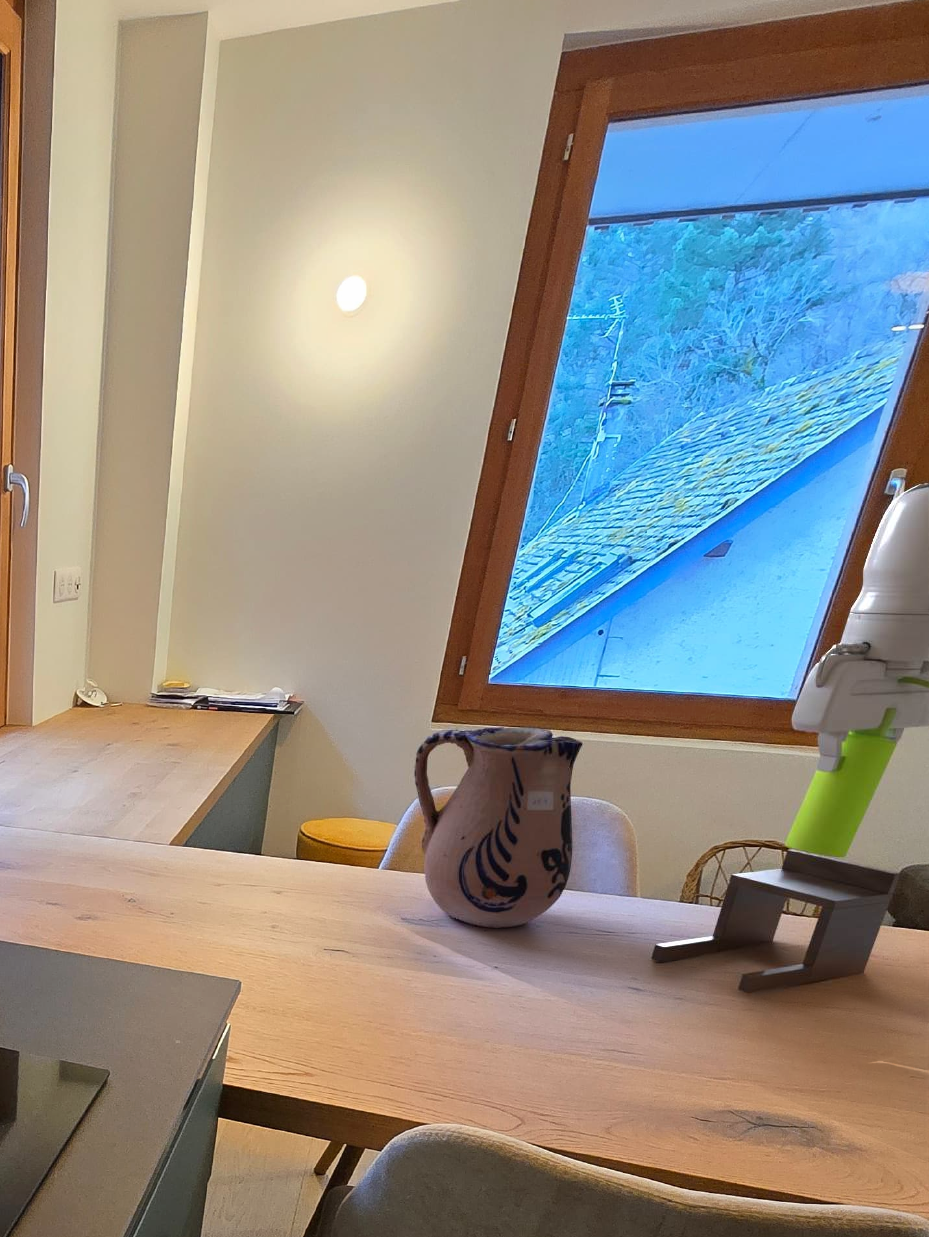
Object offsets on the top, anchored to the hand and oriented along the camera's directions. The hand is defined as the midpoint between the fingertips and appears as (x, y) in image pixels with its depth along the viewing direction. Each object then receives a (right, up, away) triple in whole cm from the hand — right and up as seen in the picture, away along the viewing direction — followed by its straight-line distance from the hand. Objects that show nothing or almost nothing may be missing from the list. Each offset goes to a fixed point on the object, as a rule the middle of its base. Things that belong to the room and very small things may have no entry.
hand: (849, 769), depth 119 cm
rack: (-5, -22, +8) cm, 24 cm away
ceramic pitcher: (-31, -15, +25) cm, 43 cm away
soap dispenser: (-1, -9, +3) cm, 10 cm away
